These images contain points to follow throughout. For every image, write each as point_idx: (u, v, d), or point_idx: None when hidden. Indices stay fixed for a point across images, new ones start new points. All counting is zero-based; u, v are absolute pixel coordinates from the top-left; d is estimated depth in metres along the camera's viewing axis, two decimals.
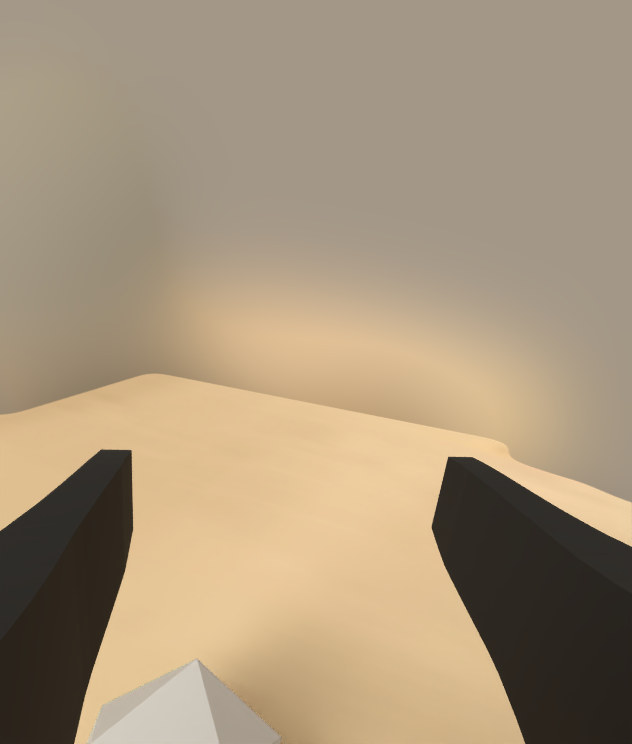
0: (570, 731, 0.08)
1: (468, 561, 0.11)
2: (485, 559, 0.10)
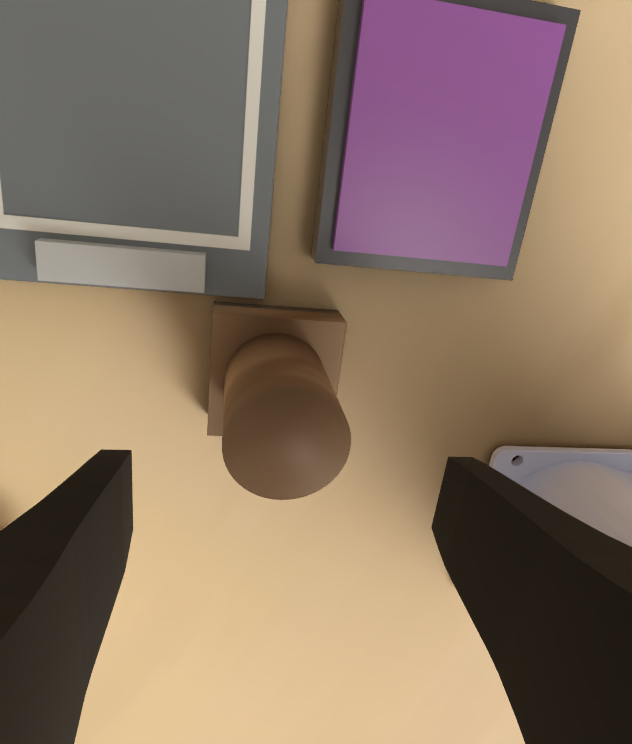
0: (570, 731, 0.08)
1: (468, 561, 0.11)
2: (485, 559, 0.10)
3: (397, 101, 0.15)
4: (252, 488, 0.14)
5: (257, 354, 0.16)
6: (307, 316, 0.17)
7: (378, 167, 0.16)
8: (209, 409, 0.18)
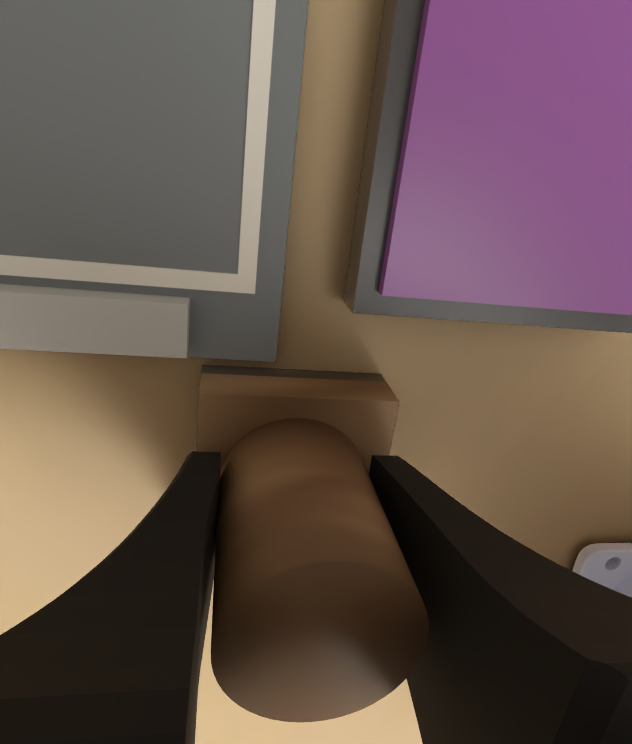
0: (457, 741, 0.07)
1: None
2: None
3: (490, 66, 0.10)
4: (262, 709, 0.08)
5: (268, 464, 0.10)
6: (341, 390, 0.12)
7: (455, 170, 0.10)
8: None
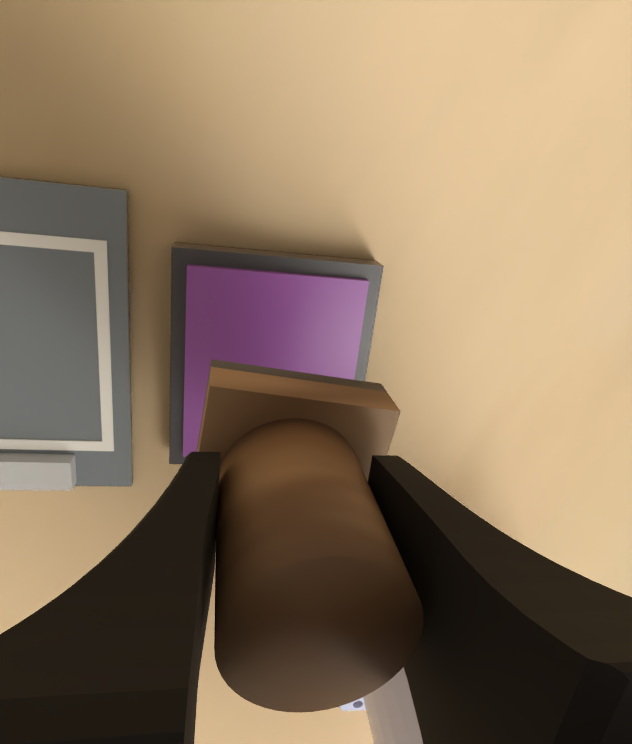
0: (457, 740, 0.07)
1: None
2: None
3: (225, 345, 0.18)
4: (255, 697, 0.09)
5: (275, 461, 0.10)
6: (345, 396, 0.12)
7: None
8: None
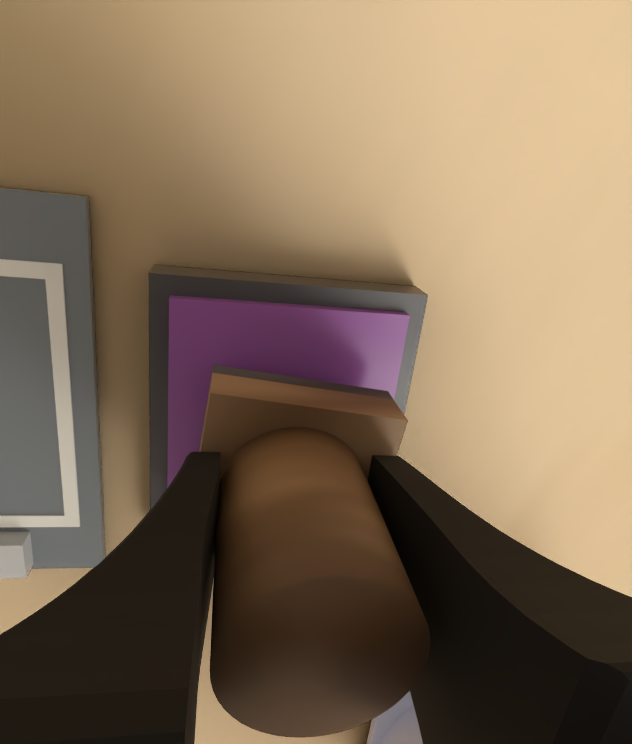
0: (457, 741, 0.07)
1: None
2: None
3: None
4: (253, 721, 0.08)
5: (277, 472, 0.10)
6: (351, 403, 0.12)
7: None
8: None
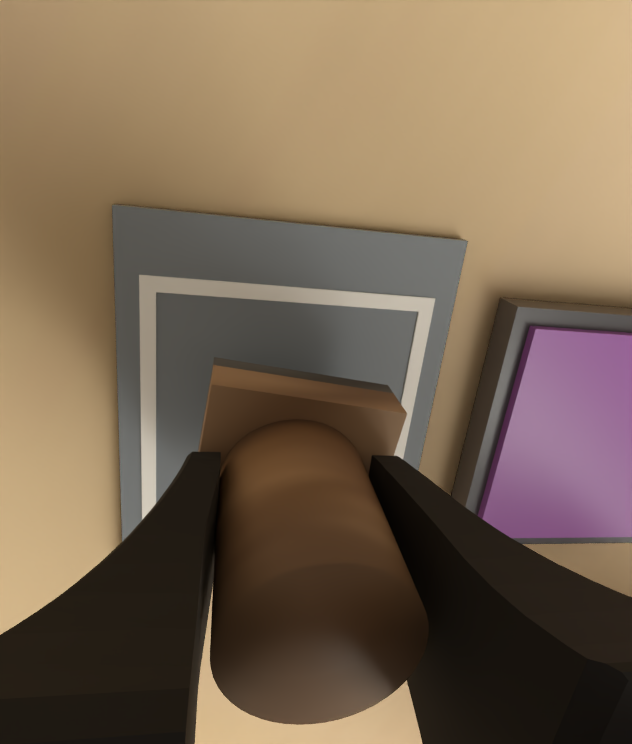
0: (457, 741, 0.07)
1: None
2: None
3: (553, 416, 0.15)
4: (252, 707, 0.08)
5: (277, 462, 0.10)
6: (350, 396, 0.12)
7: (528, 469, 0.16)
8: None
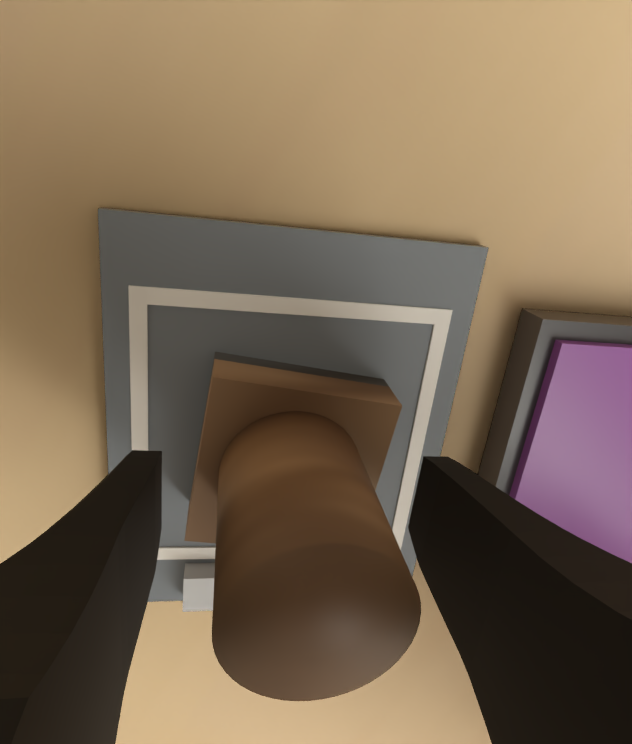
0: (534, 734, 0.08)
1: (441, 561, 0.11)
2: (456, 559, 0.10)
3: (579, 436, 0.14)
4: (252, 684, 0.09)
5: (276, 452, 0.10)
6: (347, 389, 0.12)
7: (551, 493, 0.15)
8: (192, 507, 0.12)
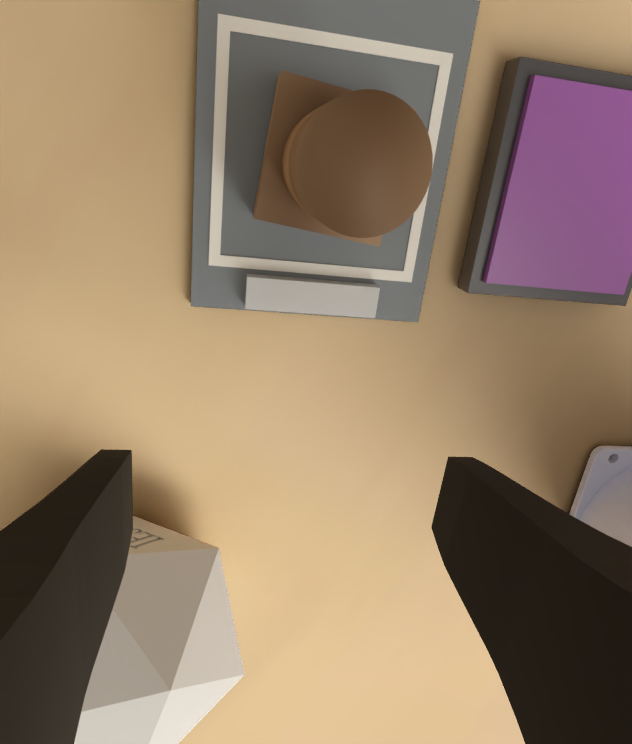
0: (570, 731, 0.08)
1: (468, 561, 0.11)
2: (485, 559, 0.10)
3: (549, 163, 0.18)
4: (320, 215, 0.13)
5: None
6: None
7: (529, 215, 0.19)
8: (261, 187, 0.17)
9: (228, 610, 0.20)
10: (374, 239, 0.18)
